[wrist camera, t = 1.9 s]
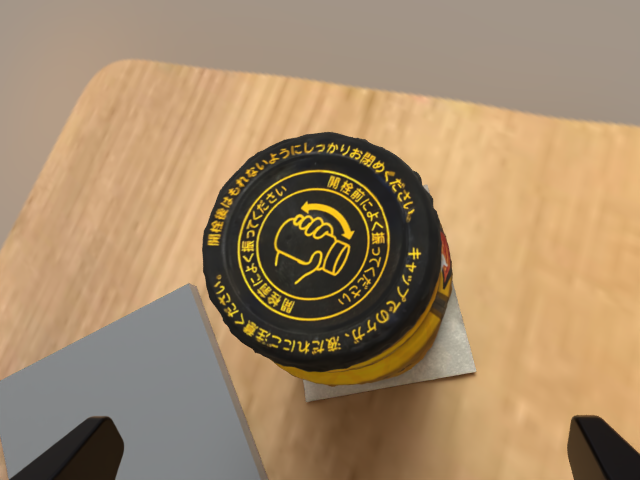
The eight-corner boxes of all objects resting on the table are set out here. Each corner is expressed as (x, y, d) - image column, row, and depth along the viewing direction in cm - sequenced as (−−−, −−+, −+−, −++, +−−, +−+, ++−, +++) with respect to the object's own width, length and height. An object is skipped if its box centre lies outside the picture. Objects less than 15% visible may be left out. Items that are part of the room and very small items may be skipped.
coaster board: (284, 522, 19) (278, 528, 18) (54, 632, 20) (40, 642, 19) (196, 286, 23) (188, 283, 22) (4, 385, 23) (-10, 385, 23)
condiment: (307, 402, 20) (170, 438, 9) (279, 222, 23) (144, 76, 12) (476, 371, 19) (558, 370, 8) (427, 187, 22) (437, -11, 11)
